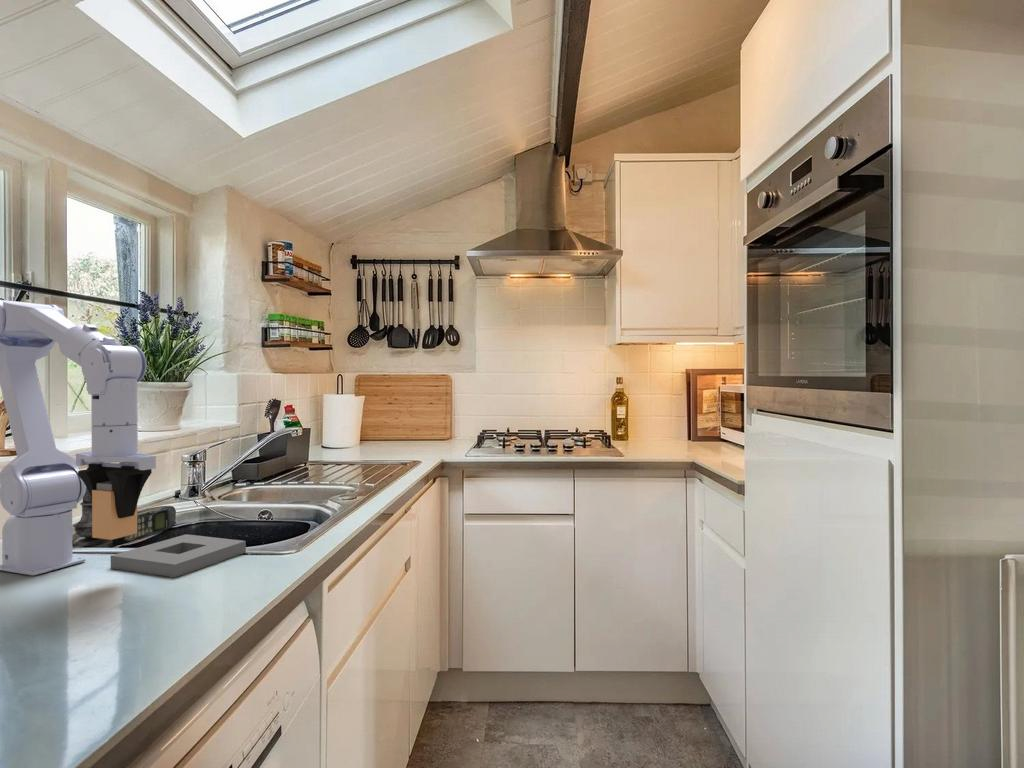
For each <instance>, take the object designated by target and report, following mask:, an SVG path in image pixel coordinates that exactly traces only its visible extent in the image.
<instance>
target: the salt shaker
mask: <svg viewBox="0 0 1024 768" xmlns="http://www.w3.org/2000/svg"><path fill="white" fill-rule="evenodd" d="M79 504H80V505H81V517H80V520H78V522H75V523H72V528H74V531H75V534H76V535H77V536H79V537H80V539H78V540H77V541H76V542H74V546H79V547H82V546H83V547H85V546H94V545H101V544H103V543H104V544H105V543H107V542H108V541H110V540H108V539H101V538H93V537H92V499H91V496H90V494H89V491H88V489H87V487H86V491H85V494H84V496H83V498H82V502H79Z"/></svg>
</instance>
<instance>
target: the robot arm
mask: <svg viewBox="0 0 1024 768" xmlns="http://www.w3.org/2000/svg"><path fill="white" fill-rule="evenodd" d="M64 312H65V311H64V309H63V308H61V307H58V305H56V304H45V303H44V304H43V303H33V302H27V301H26V302H24V301H15V300H6V299H0V390H1V395H2V398H3V403H4V408H5V410H6V417H7V419H8V423H9V428H10V432H11V436H12V440H13V445H14V449H15V452H16V457H14V459H13V460H11V461H10V462H9V463H7V464H6V465H5V466H4V467H3V468H2V469H1V471H0V504H1V506H2V508H3V509H4V511H6V512H7V513H9V515H10V516H9V517H8V518H7V519H6V521H5V522H4V523H3V526H2V530H1V531H2V532H1V545H2V546H1V553H2V554H1V555H2V556H1V557H2V558H1V564H0V571H2V572H3V571H4V572H9V573H16V574H21V575H27V576H38V575H41V574H44V573H49V572H51V571H55V570H58V569H62V568H65V567H69V566H73V565H76V564H80V563H83V562H86V558H85V557H79V556H73V526H72V525H73V510H74V509H77V508H78V504H80V503H81V501H83V496H84V494H85V491H86V487H87V489H88V491H89V494H90V496H91V499H92V490H96V489H97V483H101V482H107V481H110V482H111V485H112V488H113V491H114V496H115V505H116V512H117V516H118V518H125V517H129V516H134V513H135V510H136V506H137V507H138V503H139V499H140V496H141V493H142V491H143V488H144V486H145V484H146V482H147V480H148V479H149V477H150V476H151V474H152V472H153V471H152V470H153V469H156V467H157V465H156V464H157V463H156V462H157V458H156V457H157V455H155V454H154V455H151V454H145V453H142V452H138V448H139V447H138V443H139V442H138V439H139V438H138V434H139V433H138V427H139V426H138V424H139V423H138V422H139V421H138V418H139V417H138V383H139V382H141V381H142V380H143V378H145V375H146V372H147V364H148V363H147V357H146V355H145V353H144V352H143V350H142V349H141V348H139V347H138V345H134V344H129V345H121V344H120V343H118V342H117V341H116V338H114V337H111V336H107V335H105V334H103V333H101V332H100V331H99V327H98V326H96V325H95V324H87V323H85V324H79V325H77V324H74V322H73V321H71V320H70V319H68V318H67V317H66V316H65V313H64ZM56 343H57V344H58V347H59V351H60V352H61V354H62V355H63V356H65V357H66V358H68V359H69V360H70V361H72V362H73V363H75V364H77V365H78V366H79V367H80V368H81V372H82V375H83V377H84V380H85V382H86V391H87V394H88V395H91V396H90V397H91V403H90V404H91V451H86V452H85V451H83V452H76V453H75V457H73V456H72V455H70V454H68V453H66V452H64V451H62V450H60V449H58V448H57V445H56V442H55V437H54V434H53V430H52V426H51V422H50V418H49V414H48V410H47V407H46V406H47V405H46V402H45V398H44V394H43V391H42V386H41V382H40V379H39V378H40V377H39V374H38V371H37V367H36V362H37V360H40V359H42V358H45V357H47V356H48V355H50V352H51V350H52V349H53V348H54V346H55V344H56ZM83 466H87V467H86V469H81V470H80V468H79V467H83Z"/></svg>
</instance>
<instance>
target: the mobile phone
mask: <svg viewBox="0 0 1024 768" xmlns="http://www.w3.org/2000/svg"><path fill="white" fill-rule="evenodd" d="M176 518H177V510H176V508H175V507H174V506H173V505H161V506H156V507H151V508H149V509H145V510H141V511H137V533H136V534H132V535H128V536H124V537H120V538H117V539H113V540H111V542H112V543H113V544H116V545H119V544H126V543H129V542H132V541H135V540H138V539H142V538H144V537H148V536H151V535H156V534H159V533H162V532H165V531H167V530H169V529H171V528H172V527H174V525H177V521H176Z"/></svg>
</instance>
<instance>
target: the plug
mask: <svg viewBox="0 0 1024 768" xmlns="http://www.w3.org/2000/svg"><path fill="white" fill-rule="evenodd" d="M137 512H138V505H137V506H136V510H135V513H134V516H129V517H125V518H118V516H117V512H116V505H115V496H114V491H113V488H112V485H111V482H110V481H107V482H101V483H97V489H96V490H92V537H93V538H101V539H108V540H109V541H112V540H113V539H117V538H120V537H124V536H128V535H132V534H136V533H137Z"/></svg>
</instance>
